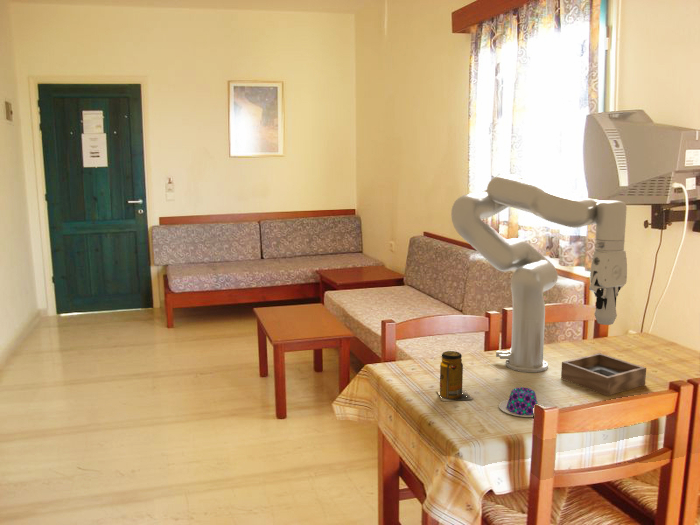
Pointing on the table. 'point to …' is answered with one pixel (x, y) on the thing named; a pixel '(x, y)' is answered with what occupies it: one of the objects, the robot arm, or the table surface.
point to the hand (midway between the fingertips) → (605, 310)
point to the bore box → (603, 373)
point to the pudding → (520, 402)
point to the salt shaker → (607, 309)
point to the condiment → (452, 377)
